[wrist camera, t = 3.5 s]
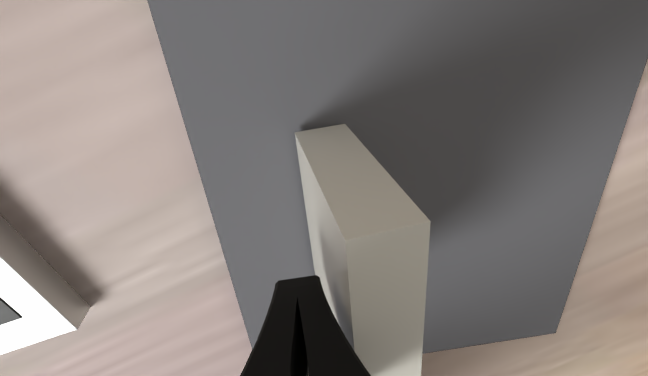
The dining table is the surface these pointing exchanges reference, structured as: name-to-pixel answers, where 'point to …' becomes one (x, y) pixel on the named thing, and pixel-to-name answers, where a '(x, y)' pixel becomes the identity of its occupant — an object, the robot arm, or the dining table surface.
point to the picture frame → (32, 295)
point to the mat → (414, 136)
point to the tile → (366, 249)
